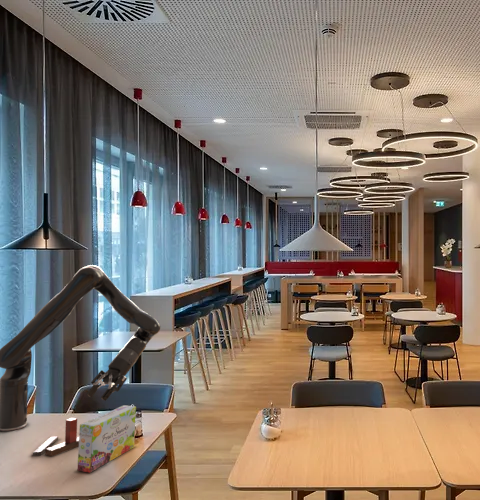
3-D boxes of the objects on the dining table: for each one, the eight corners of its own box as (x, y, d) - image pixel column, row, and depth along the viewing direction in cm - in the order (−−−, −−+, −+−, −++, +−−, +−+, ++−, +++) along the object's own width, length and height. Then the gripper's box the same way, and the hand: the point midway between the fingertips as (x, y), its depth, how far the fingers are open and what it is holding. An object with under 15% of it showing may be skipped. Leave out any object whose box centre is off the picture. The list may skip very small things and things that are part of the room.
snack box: (91, 473, 147) (93, 425, 147) (76, 471, 148) (78, 424, 148) (135, 447, 168) (136, 405, 168) (121, 445, 169) (123, 404, 169)
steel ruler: (32, 455, 159) (32, 452, 159) (50, 440, 172) (50, 436, 173) (40, 455, 159) (40, 451, 159) (58, 439, 173) (58, 436, 173)
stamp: (45, 454, 160) (46, 425, 160) (87, 438, 175) (88, 411, 175) (51, 456, 158) (52, 427, 159) (94, 440, 173) (95, 413, 173)
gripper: (106, 354, 186) (77, 389, 176) (129, 358, 180) (101, 395, 169) (118, 364, 191) (90, 399, 180) (141, 369, 184) (114, 406, 174)
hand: (95, 397), depth 175 cm, fingers open, 8 cm apart
